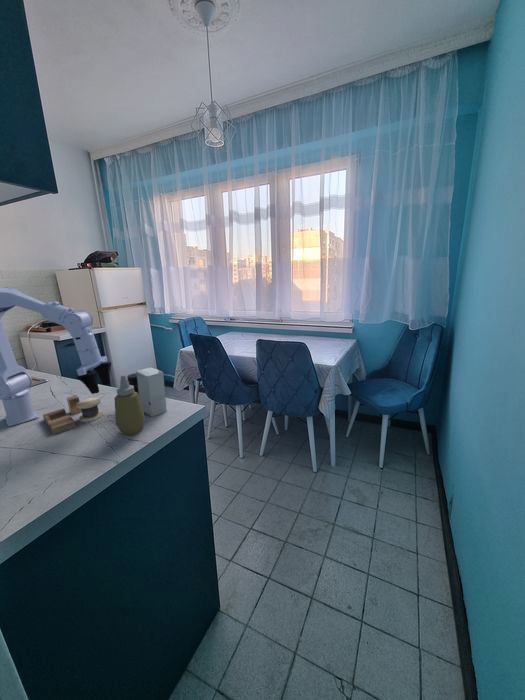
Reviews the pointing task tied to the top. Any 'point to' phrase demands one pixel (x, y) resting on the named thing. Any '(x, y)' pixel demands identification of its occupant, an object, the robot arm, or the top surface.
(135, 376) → the supplement bottle
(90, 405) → the spool
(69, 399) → the brown wooden block
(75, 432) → the top surface
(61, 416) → the notched board
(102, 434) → the top surface
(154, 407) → the skincare box
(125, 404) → the squeeze bottle
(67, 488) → the top surface
